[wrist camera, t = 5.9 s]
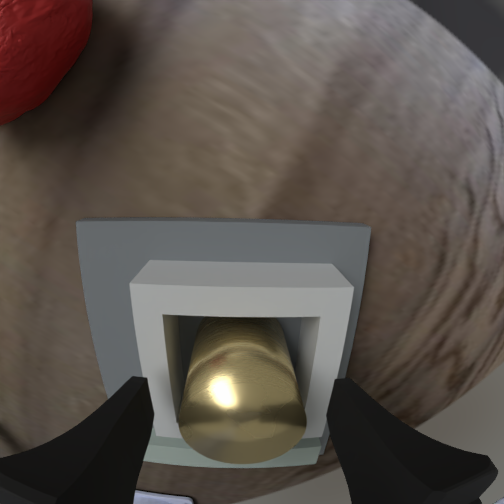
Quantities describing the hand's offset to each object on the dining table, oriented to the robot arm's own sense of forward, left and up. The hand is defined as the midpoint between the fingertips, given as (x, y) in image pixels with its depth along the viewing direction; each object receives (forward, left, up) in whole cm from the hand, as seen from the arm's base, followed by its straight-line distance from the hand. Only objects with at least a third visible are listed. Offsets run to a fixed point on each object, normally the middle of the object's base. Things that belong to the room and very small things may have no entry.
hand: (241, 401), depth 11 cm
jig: (-2, +1, -5) cm, 6 cm away
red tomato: (+16, +12, -6) cm, 21 cm away
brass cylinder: (0, 0, -4) cm, 4 cm away
